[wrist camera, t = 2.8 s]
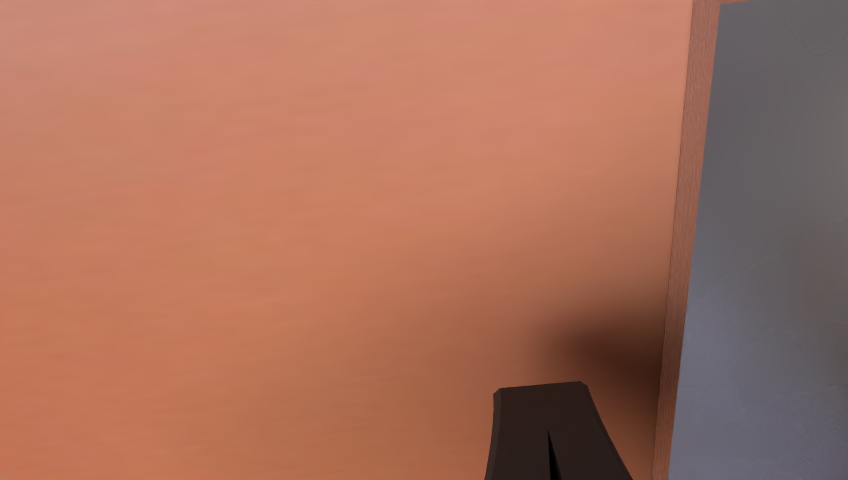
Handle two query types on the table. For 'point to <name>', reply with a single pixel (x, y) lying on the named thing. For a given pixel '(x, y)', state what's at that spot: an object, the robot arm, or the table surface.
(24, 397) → the table surface
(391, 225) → the table surface
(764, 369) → the gauge bench
